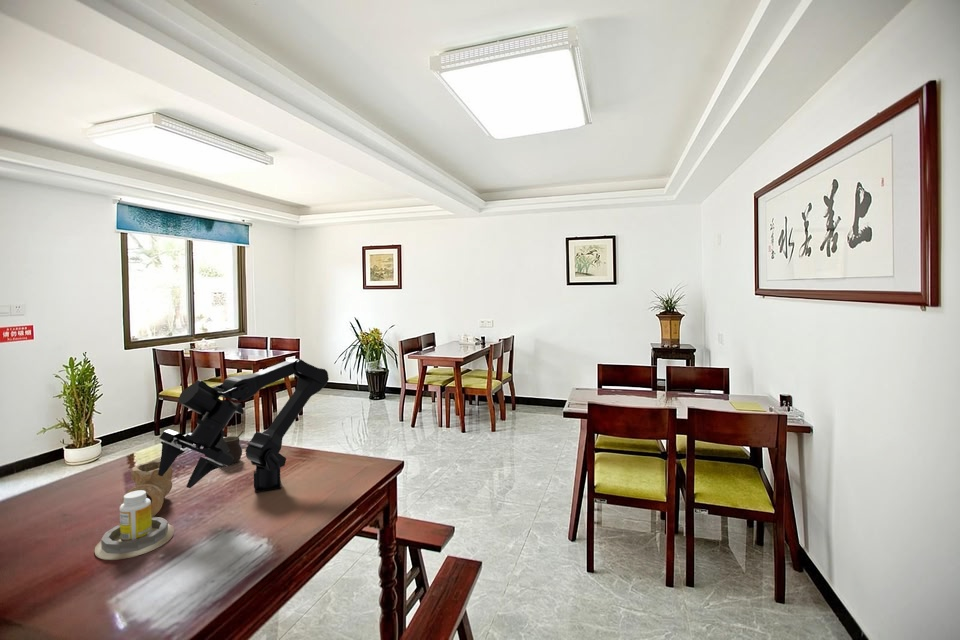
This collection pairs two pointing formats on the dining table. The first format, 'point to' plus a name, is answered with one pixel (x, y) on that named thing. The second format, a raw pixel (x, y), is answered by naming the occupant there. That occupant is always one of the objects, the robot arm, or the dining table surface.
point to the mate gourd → (234, 447)
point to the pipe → (152, 483)
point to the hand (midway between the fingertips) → (173, 481)
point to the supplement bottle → (135, 516)
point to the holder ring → (133, 541)
